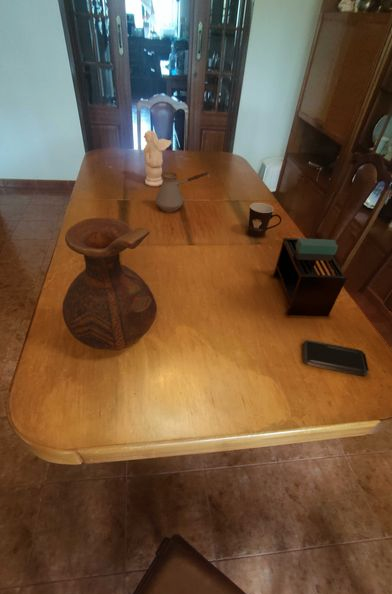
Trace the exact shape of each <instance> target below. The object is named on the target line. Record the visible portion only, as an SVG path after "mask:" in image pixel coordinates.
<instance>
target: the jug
mask: <svg viewBox="0 0 392 594" xmlns="http://www.w3.org/2000/svg"><path fill="white" fill-rule="evenodd" d="M66 230H67V231H66V232H65V235H64V241H65V243H66V246H67V247H68V248H69V249H70V250H71V251H73V252H75V253H76V254H80V255H82V256H83V258H84V263H85V264H84V265H85V267H84V269H83V270H82V271H81V272H79V274H78V275H77V276H75V278H74V279H73V280H72V282H71V283H70V285H69V287H68V288H67V291H66V293H65V295H64V298H63V301H62V310H61V312H62V317H63V322H64V323H65V325H66V327H67V329H68V331H69V332H70V334H71V335H72V336H73V338H75V339H76V340H78V341H79V342H80V343H82V344H84V345H85V346H87V347H89V348H92V349H97V350H102V351H103V350H104V351H116V350H122V349H125V348H127V347H130V346H132V345H133V344H134V343H136V342H137V341H139V340H140V339H141V338H142V337H143V336H144V335H146V334H147V332H148V331H149V330H150V329H151V327H152V325H153V324H154V322H155V320H156V317H157V311H158V308H157V307H158V306H157V302H156V300H155V297H154V294H153V292H152V290H151V289H150V286H148V284H147V283H146V282H145V281H144V279H143V278H142V277H141V276H140V275H139V274H138V273H137V272H136V271H134V270H133V269H131V268H130V267H128V266H127V265H124V264H121V261H120V257H121V256H120V255H121V253H122V252H123V251H125V250H127V249H129V250H134V249H136V248H137V247H139V245H140V244H141V243H142V241H144V240H145V238H146V237H148V236H149V235H150V230H149V229H148V228H147V227H139V228H135V229H132V228H131V227H130V225H128V224H127V222H124V221H122V220H119V219H116V218H111V217H91V218H86V219H82V220H80V221H78V222H76V223H75V224H73V225H71V226H70V227H69V228H68V229H66Z"/></svg>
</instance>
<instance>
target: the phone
mask: <svg viewBox="0 0 392 594" xmlns="http://www.w3.org/2000/svg"><path fill="white" fill-rule="evenodd" d="M302 346H303V347H302V349H303V362H304V364H305V365H307V366H311V367H315V368H321V369H325V370H330V371H335V372H339V373H345V374H349V375H350V374H351V375H355V376H360V377H366V376H367V375H368V374H369V366H368V360H367V356H366V353H365V351H363V350H361V349H358V348H357V349H356V348H352V347H347V346H340V345H336V344H332V343H326V342H320V341H315V340H311V339H306V340H305V341H304V342H303V345H302Z"/></svg>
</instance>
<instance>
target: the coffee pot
mask: <svg viewBox="0 0 392 594" xmlns="http://www.w3.org/2000/svg"><path fill="white" fill-rule="evenodd" d="M204 176H207V177H208V179H210V174H209V172H204V173H203V172H202V173H201V174H195V175H194V176H191V177H188V178H187V179H183V180H180V181H177V178H178V177H179V175H178V173H175V172H172V171H165V172H162V174H161V178H162V180H163V182H162V184H161V185H160V186H159V190H158V191H157V194H156V198H155V203H156V206H157V207H158V208H160V210H161V211H164V212H167V213H173V212H177V211H178V210H179V209H180V208H182V206H183V204H184V199H183V195H182V194H181V193H182V192H181V191H180V188H179V186H180V185H182V184H184V183H186V182H191V181H194V180H198V179H200V178H202V177H204Z"/></svg>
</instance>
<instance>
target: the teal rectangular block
mask: <svg viewBox="0 0 392 594" xmlns="http://www.w3.org/2000/svg"><path fill="white" fill-rule="evenodd" d="M297 239H298V240H297V243H296V246H295V247H296V251H295V256H296V258H297V260H318V261H321V262H323V261H326V262H328V261H331V259H332V257H333V258H334V256H335V255H336V253H337V250H338V248H339V245H338V244H337V242H336V241H335V239H324V238H303V237H301V238H300V237H298V238H297ZM318 261H317V262H318Z"/></svg>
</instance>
